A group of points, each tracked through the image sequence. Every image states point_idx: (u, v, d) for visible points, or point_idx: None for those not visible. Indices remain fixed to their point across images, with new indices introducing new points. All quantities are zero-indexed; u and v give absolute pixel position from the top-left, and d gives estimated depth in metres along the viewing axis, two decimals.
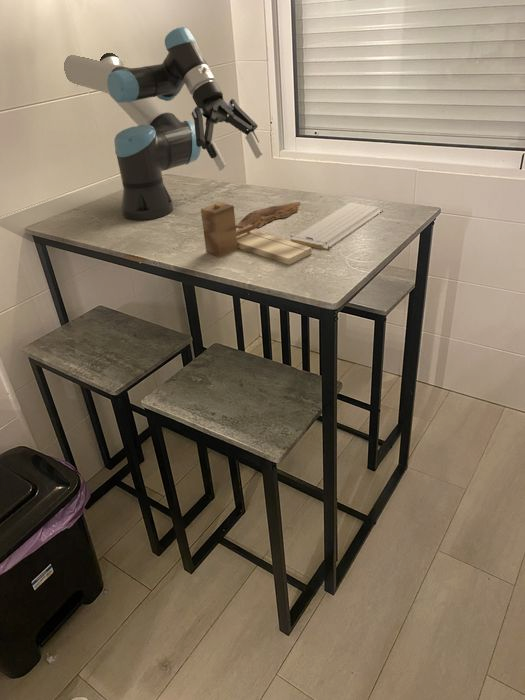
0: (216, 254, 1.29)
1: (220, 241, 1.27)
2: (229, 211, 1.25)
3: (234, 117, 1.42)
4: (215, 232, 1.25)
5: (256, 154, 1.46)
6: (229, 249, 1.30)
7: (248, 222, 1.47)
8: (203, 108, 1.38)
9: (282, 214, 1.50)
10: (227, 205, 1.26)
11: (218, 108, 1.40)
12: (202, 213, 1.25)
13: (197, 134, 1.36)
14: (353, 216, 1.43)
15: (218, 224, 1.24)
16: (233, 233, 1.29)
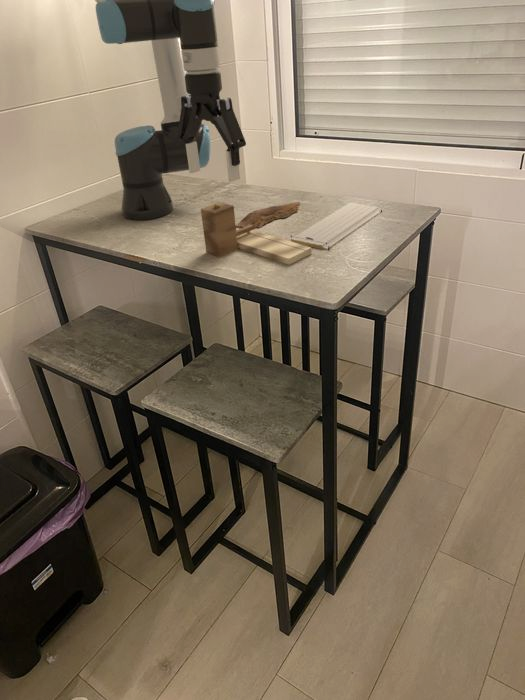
0: (216, 254, 1.29)
1: (220, 241, 1.27)
2: (229, 211, 1.25)
3: (215, 124, 1.12)
4: (215, 232, 1.25)
5: None
6: (229, 249, 1.30)
7: (248, 222, 1.47)
8: None
9: (282, 214, 1.50)
10: (227, 205, 1.26)
11: None
12: (202, 213, 1.26)
13: None
14: (353, 216, 1.44)
15: (218, 224, 1.24)
16: (233, 233, 1.29)
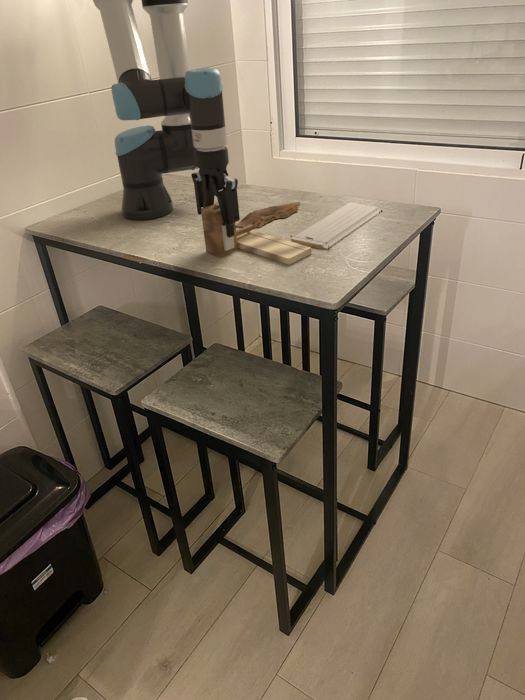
0: (216, 254, 1.29)
1: (220, 241, 1.27)
2: None
3: (218, 197, 1.22)
4: (215, 232, 1.25)
5: None
6: None
7: (248, 222, 1.47)
8: None
9: (282, 214, 1.50)
10: None
11: (211, 176, 1.20)
12: (202, 213, 1.25)
13: None
14: (353, 216, 1.44)
15: (218, 224, 1.24)
16: None
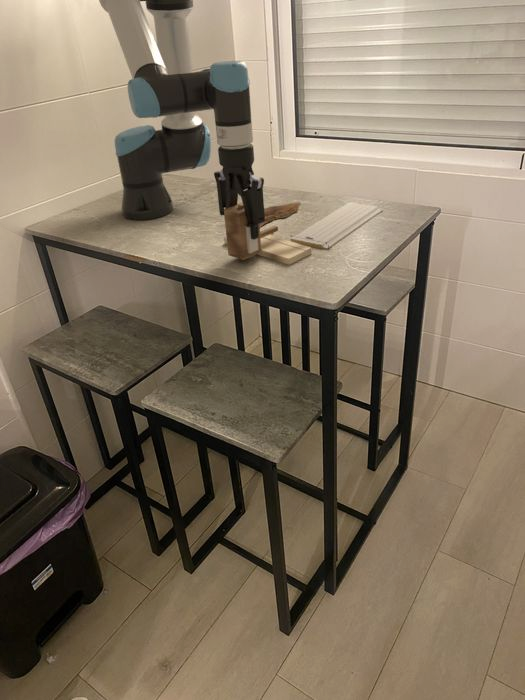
0: (239, 257, 1.23)
1: (244, 243, 1.21)
2: None
3: (242, 197, 1.16)
4: (239, 234, 1.19)
5: None
6: None
7: None
8: None
9: (282, 214, 1.50)
10: None
11: (235, 175, 1.15)
12: (225, 214, 1.20)
13: None
14: (353, 216, 1.44)
15: (242, 225, 1.18)
16: None
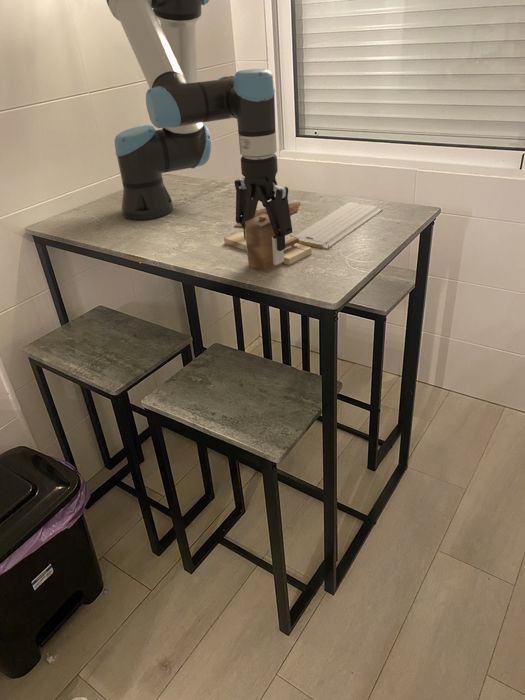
0: (260, 270, 1.20)
1: (265, 256, 1.18)
2: None
3: (267, 208, 1.12)
4: (260, 246, 1.16)
5: None
6: None
7: None
8: None
9: None
10: None
11: (257, 186, 1.11)
12: (246, 226, 1.16)
13: None
14: (352, 216, 1.44)
15: (264, 238, 1.15)
16: None
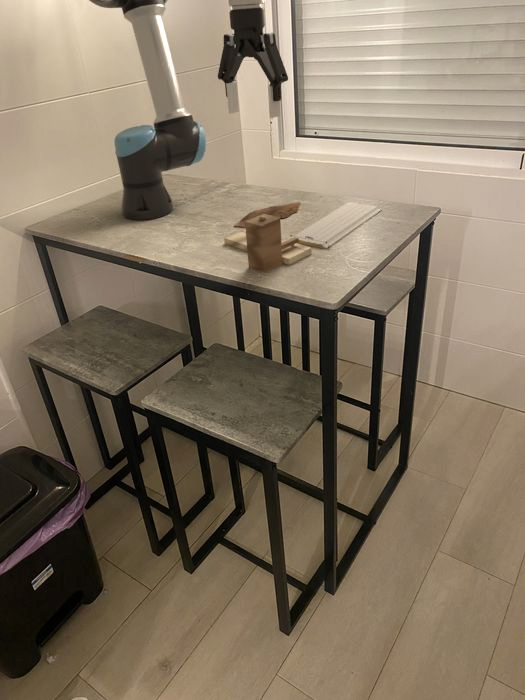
0: (260, 270, 1.20)
1: (265, 256, 1.18)
2: (276, 223, 1.16)
3: (258, 60, 1.16)
4: (260, 246, 1.16)
5: None
6: (274, 264, 1.21)
7: None
8: (233, 37, 1.18)
9: (282, 214, 1.50)
10: (273, 217, 1.17)
11: None
12: (246, 226, 1.16)
13: None
14: (352, 215, 1.44)
15: (264, 238, 1.15)
16: (278, 247, 1.20)
